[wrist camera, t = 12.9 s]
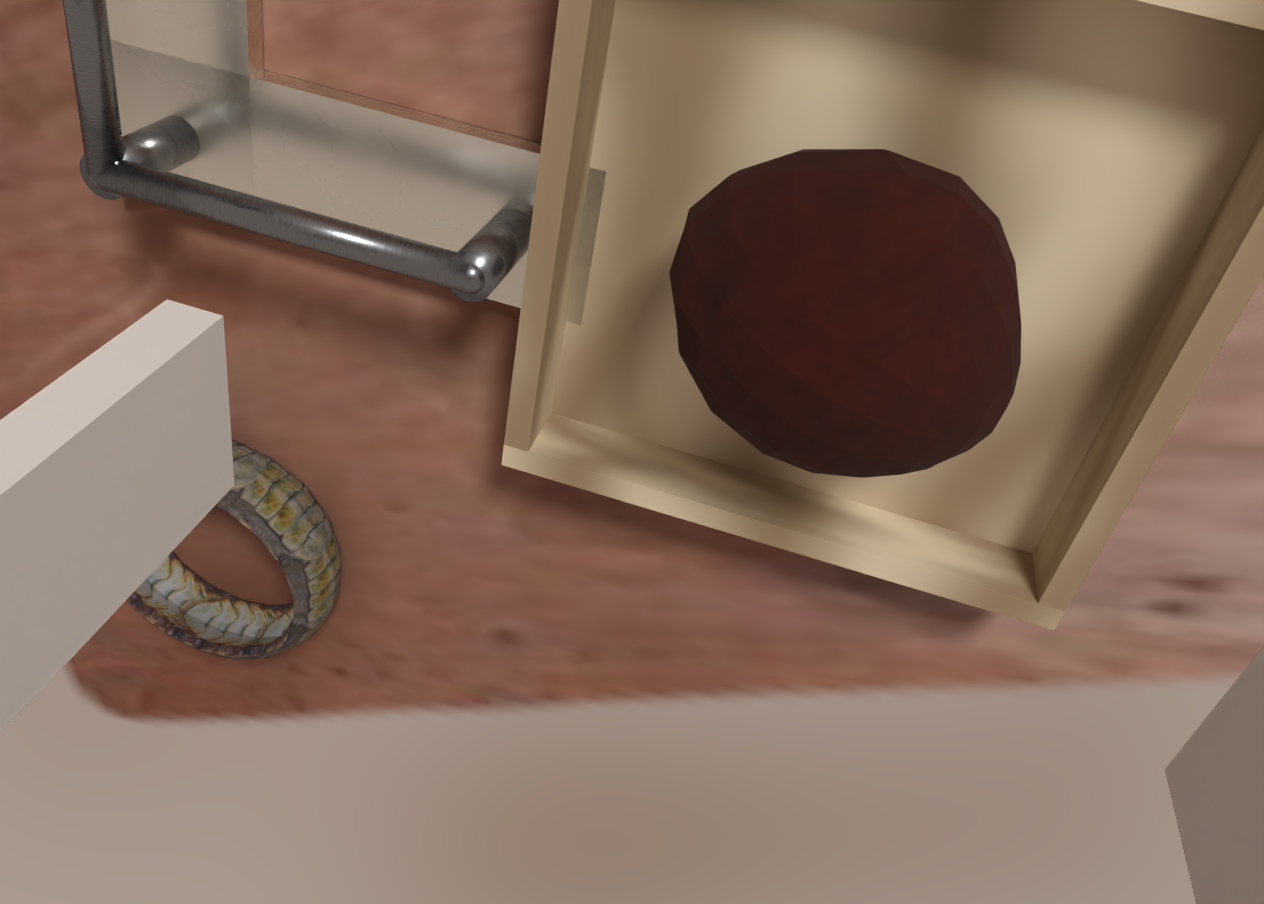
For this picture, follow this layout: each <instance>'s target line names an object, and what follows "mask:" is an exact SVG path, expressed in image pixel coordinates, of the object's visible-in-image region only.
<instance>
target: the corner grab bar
mask: <svg viewBox="0 0 1264 904" xmlns="http://www.w3.org/2000/svg"><path fill="white" fill-rule="evenodd" d="M62 1H63V8H64V15H65V22H66V29H67V36H68V42H69V49H70V56H71V63H72V70H73V77H74V84H75V91H76V98H77V105H78V112H79V119H80V126H81V133H82V140H83V147H84V155H83V156H82V158H81V160H80V171H81V175H82V177H83V180H84V181H85V183H86V185H87V186H88V187H89V188H90V189H91V190H92V191H93V192H94V193H95V194H97V195H98V196H100V197H102V198H104V199H108V200H114V199H117V198H119V197H121V196H124V197H128V198H131V199H135V200H138V201H142V202H145V203H149V204H152V205H156V206H159V207H163V208H166V209H170V210H174V211H177V212H181V213H184V214H188V215H191V216H195V217H198V218H202V219H205V220H209V221H212V222H216V223H220V224H223V225H227V226H230V227H234V228H237V229H241V230H244V231H248V232H251V233H255V234H258V235H262V236H266V237H269V238H273V239H276V240H280V241H283V242H287V243H290V244H294V245H297V246H301V247H305V248H308V249H312V250H315V251H319V252H322V253H326V254H329V255H333V256H336V257H340V258H343V259H347V260H351V261H354V262H358V263H361V264H365V265H368V266H372V267H375V268H379V269H382V270H386V271H389V272H393V273H397V274H400V275H404V276H407V277H411V278H414V279H418V280H421V281H425V282H428V283H432V284H435V285H439V286H443V287H446V288H450V290H451V291H452V292H453V293H454V294H455V295H456V296H457V297H459V298H460V299H462V300H465V301H468V302H479V301H482V300H484V299H490V300H493V301H497V302H500V303H504V304H507V305H511V306H515V307H518V308H521V303H522V295H523V287H524V279H525V271H526V263H527V255H528V246H529V238H530V230H531V222H532V214H533V206H534V198H535V190H536V182H537V174H538V166H539V158H540V150H541V144H540V143H537V142H533V141H529V140H525V139H522V138H518V137H514V136H510V135H506V134H503V133H499V132H495V131H491V130H488V129H484V128H480V127H476V126H472V125H469V124H465V123H461V122H457V121H454V120H450V119H446V118H442V117H438V116H435V115H431V114H427V113H423V112H419V111H416V110H412V109H408V108H404V107H401V106H397V105H393V104H389V103H385V102H382V101H378V100H374V99H370V98H367V97H363V96H359V95H355V94H351V93H348V92H344V91H340V90H336V89H333V88H329V87H325V86H321V85H317V84H314V83H310V82H306V81H302V80H298V79H295V78H291V77H287V76H283V75H280V74H276V73H272V72H268V71H264V53H263V25H262V0H62ZM590 170H592V173H591V172H590V173H591V174H590V173H589V174H590V176H591V175H592V174H593V172H594V173H595V169H594V171H593V168H591V169H590V168H589V171H590ZM597 170H598V169H597ZM599 171H600V172H598V171H597V172H596V173H598V175H599V174H600V175H599V177H596V176H598V175H596V174H594V175H596V176H595V177H596V178H597V179H599V178H600V179H601V181H600V182H602V183H601V184H600V185H602V186H601V187H602V188H603V189H600V188H601V187H600V185H598V184H599V183H598V184H597V181H598V180H597V181H596V182H595V183H596V184H597V185H596V187H597V186H599V187H600V188H599V189H600V190H604V184H605V183H604V182H605V179H604V178H606V173H605V172H606V171H603V172H602V170H599ZM601 172H602V173H601ZM603 173H604V174H603ZM594 175H593V176H594ZM601 175H603V176H604V177H603V176H601ZM590 176H588V177H590ZM593 176H591V178H592V177H593ZM593 179H594V178H593ZM593 179H592V181H595V180H596V179H595V180H593ZM588 180H590V178H589V179H588ZM590 182H591V180H590V181H589V183H590ZM592 183H594V182H592ZM595 183H594V184H595ZM603 183H604V184H603ZM587 185H588V183H587ZM590 185H592V186H591V187H593V184H590ZM589 188H590V186H589ZM594 188H595V186H594ZM587 189H588V188H586V190H587ZM592 189H593V188H592ZM595 189H597V188H595ZM595 189H594V190H592V191H595ZM589 190H590V189H589ZM590 191H591V190H590ZM586 192H587V193H586V194H587V196H588V190H587V191H586ZM595 192H596V191H595ZM595 192H592V193H593V194H595V195H596V193H595ZM598 192H599V191H597V193H598ZM600 192H602V194H603V191H600ZM600 192H599V194H600ZM590 193H591V192H589V194H590ZM592 193H591V194H592ZM586 194H585V196H586ZM593 194H592V195H593ZM602 194H601V195H602ZM587 196H586V199H587V198H589V196H591V195H589V196H588V197H587ZM597 196H598V194H597V195H596V196H594V198H596V197H597ZM598 197H600V199H599V200H601V198H602V197H601V196H598ZM591 198H592V196H591V197H590V199H591ZM594 198H592V199H591V200H590V199H589V200H587V201H589V202H590V201H592V200H593V199H594ZM596 199H598V198H596ZM596 199H595V200H596ZM595 200H594V201H595ZM599 200H597V201H596V202H599ZM587 201H586V202H585V203H587ZM594 201H593V202H594ZM601 201H602V200H601ZM601 201H600V202H599V203H601ZM589 202H588V204H589ZM593 202H592V203H590V204H593ZM596 202H595V203H596ZM595 203H594V204H595ZM597 204H598V203H597ZM597 204H596V205H597ZM584 205H585V204H584ZM600 205H601V204H600ZM600 205H599V206H600ZM587 206H589V205H587ZM587 206H586V207H587ZM592 206H593V207H594V208H596V207H595V206H594V205H592ZM592 206H590V208H591V207H592ZM583 208H584V207H583ZM587 208H588V207H587ZM598 208H601V207H597V208H596V209H598ZM585 209H586V208H585ZM591 209H593V208H591ZM596 209H594V210H596ZM594 210H591V211H590V212H592V211H593V212H595V211H594ZM598 210H599V211H600V209H598ZM598 210H597V212H598V213H599V214H600V212H599V211H598ZM597 212H595V213H597ZM584 213H586V212H584ZM584 213H583V214H584ZM587 214H589V212H588V211H587ZM591 214H593V213H591ZM594 215H595V214H594ZM594 215H592V217H593V216H594ZM596 215H598V214H596ZM583 216H585V215H583ZM587 216H588V215H587ZM597 218H599V216H598V217H597V216H596V218H595V219H594V217H593V219H594V220H597ZM585 219H588V220H589V219H591V217H590V218H589V217H588V218H585ZM585 219H584V220H583V219H582V220H583V222H584V221H585ZM593 219H592V220H593ZM588 220H586V221H587V222H588ZM598 220H599V219H598ZM586 221H585V222H586ZM585 222H584V223H585ZM589 222H591V220H590V221H589ZM589 222H588V223H587V224H589ZM592 222H594V221H592ZM581 223H582V222H581ZM584 223H583V224H582V225H581V226H583V225H584ZM595 223H597V222H596V221H595ZM589 225H591V224H589ZM589 225H588V226H589ZM588 226H587V227H588ZM591 226H592V225H591ZM596 226H597V224H596V225H595V226H594V227H593V228H596ZM585 227H586V225H585ZM587 227H586V228H583V227H582V228H583V229H584V230H585V229H586V230H588V229H589V228H588V229H587ZM580 228H581V227H580ZM582 228H581V229H582ZM593 228H592V229H593ZM590 229H591V227H590ZM596 229H597V228H596ZM596 229H594V230H596ZM580 231H581V230H580ZM590 231H592V230H590ZM590 231H589V232H590ZM596 231H597V230H596ZM581 232H583V231H581ZM586 232H587V231H585V235H586ZM592 232H593V231H592ZM592 232H591V233H592ZM595 233H596V232H595ZM581 234H584V233H581ZM581 234H579V235H581ZM587 234H588V233H587ZM589 234H590V233H589ZM589 234H588V236H589ZM585 235H584V236H585ZM590 235H591V234H590ZM592 235H594V233H593V234H592ZM581 236H582V235H581ZM594 236H595V235H594ZM590 237H591V236H590ZM591 238H592V237H591ZM580 239H581V238H580ZM586 239H587V238H586ZM593 239H594V237H593ZM581 240H583V237H582V239H581ZM589 241H590V240H589ZM589 241H586V242H587V243H588V242H589ZM593 241H594V240H593ZM578 242H579V240H578ZM582 242H584V241H582ZM582 242H581V243H580V242H579V243H580V244H582ZM587 243H586V244H587ZM589 243H590V242H589ZM594 243H595V242H594ZM583 244H585V243H583ZM586 244H585V246H586ZM591 244H592V242H591ZM578 245H579V244H578ZM579 246H580V245H579ZM579 246H578V247H579ZM581 246H582V245H581ZM585 246H583V247H585ZM592 246H594V245H592ZM587 247H588V246H587ZM587 247H586V248H587ZM579 248H580V247H579ZM586 248H584V250H585V249H586ZM590 248H591V246H590ZM590 248H589V249H590ZM581 249H583V248H581ZM592 249H593V248H591V250H589V251H592ZM584 250H583V251H584ZM587 250H588V249H587ZM577 251H578V249H577ZM583 251H581V252H583ZM589 251H588V252H589ZM581 252H580V253H581ZM588 252H587V253H588ZM592 252H593V251H592ZM592 252H591V253H592ZM577 253H578V252H577ZM577 253H576V254H577ZM580 253H578V254H580ZM587 253H586V254H587ZM591 253H590V254H591ZM578 254H577V256H578ZM584 254H585V253H584ZM588 255H589V254H588ZM579 257H580V256H579ZM579 257H578V258H579ZM583 257H584V256H583ZM578 258H577V259H578ZM585 258H586V257H585ZM585 258H584V259H585ZM587 259H588V258H587ZM587 259H586V260H587ZM591 260H592V259H591ZM591 260H590V261H591ZM575 261H576V260H575ZM586 262H587V261H586ZM586 262H585V263H586ZM580 263H581V262H580ZM580 263H579V264H577V265H580ZM589 263H592V262H589ZM587 264H588V263H587ZM581 265H582V263H581ZM583 265H584V264H583ZM575 266H576V265H575ZM584 266H586V265H584ZM577 267H579V266H576V268H577ZM581 267H582V266H581ZM581 267H580V268H581ZM585 268H588V267H585ZM574 269H575V268H574ZM577 269H579V268H577ZM589 269H590V268H589ZM586 271H587V270H586ZM574 272H576V271H574ZM578 272H580V271H578ZM582 272H583V271H582ZM582 272H580V273H582ZM589 272H590V271H589ZM583 273H585V272H583ZM583 273H582V275H583ZM573 274H574V273H573ZM586 274H587V273H586ZM589 274H590V273H589ZM589 274H588V275H589ZM575 275H576V274H575ZM575 275H573V277H574V276H575ZM578 275H579V274H578ZM578 275H577V276H578ZM588 275H587V276H588ZM584 276H585V275H584ZM584 276H583V277H584ZM583 277H582V278H583ZM575 278H576V277H575ZM575 278H574V279H575ZM578 278H580V276H579V277H578ZM578 278H577V279H578ZM585 278H586V277H585ZM577 279H576V280H577ZM587 279H588V278H587ZM579 280H580V279H579ZM579 280H578V281H577V282H578V283H580V282H579ZM583 281H584V280H583ZM585 281H586V280H585ZM585 281H584V282H585ZM574 282H575V281H574ZM582 283H583V282H582ZM572 284H573V283H572ZM575 284H576V283H575ZM584 284H585V283H584ZM586 284H587V283H586ZM581 285H582V284H581ZM579 286H580V285H579ZM584 286H585V285H584ZM571 287H573V288H574V286H573V285H572V286H571ZM576 287H577V286H576ZM581 287H583V286H581ZM585 287H587V286H585ZM577 288H580V287H577ZM581 289H584V288H581ZM586 289H587V288H586ZM574 290H575V289H574ZM584 290H585V289H584ZM579 291H581V290H578V292H579ZM574 292H576V291H574ZM578 292H576V293H578ZM586 292H587V291H586ZM580 294H581V293H580ZM585 294H586V293H585ZM572 295H573V294H572ZM575 295H576V294H575ZM577 295H578V296H579V294H577ZM582 295H583V293H582ZM570 296H571V295H570ZM584 296H585V295H584ZM575 297H577V296H575ZM578 298H579V297H578ZM578 298H577V299H578ZM581 298H583V296H582V297H581ZM581 298H580V299H581ZM573 300H574V299H573ZM578 301H579V300H578ZM570 302H571V301H570ZM570 302H569V303H570ZM573 302H575V301H573ZM584 302H585V301H584ZM584 302H583V303H584ZM576 303H577V302H576ZM579 303H581V302H579ZM570 305H571V304H570ZM570 305H569V306H570ZM574 305H575V304H574ZM574 305H573V307H574ZM584 305H585V304H584ZM576 306H577V305H576ZM576 306H575V308H576ZM578 306H579V305H578ZM570 307H571V306H570ZM573 307H572V308H573ZM581 307H583V306H581ZM568 310H569V309H568ZM572 311H573V310H572ZM575 311H576V310H575ZM578 311H579V310H578ZM580 312H581V311H580ZM580 312H579V313H580ZM569 313H570V312H569ZM572 313H574V312H572ZM572 313H571V314H572ZM579 313H578V314H579ZM582 314H583V313H582ZM568 315H569V314H568ZM572 315H573V314H572ZM573 316H574V315H573ZM581 316H582V315H581ZM568 317H570V316H568ZM570 318H571V317H570ZM575 318H576V317H575ZM576 319H578V317H577V318H576ZM569 320H570V319H569ZM571 321H573V320H571ZM571 321H570V322H571ZM574 321H576V320H574ZM578 321H579V320H578ZM571 323H572V322H571ZM576 323H577V322H576ZM578 323H580V322H578ZM579 325H580V324H579Z"/></svg>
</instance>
